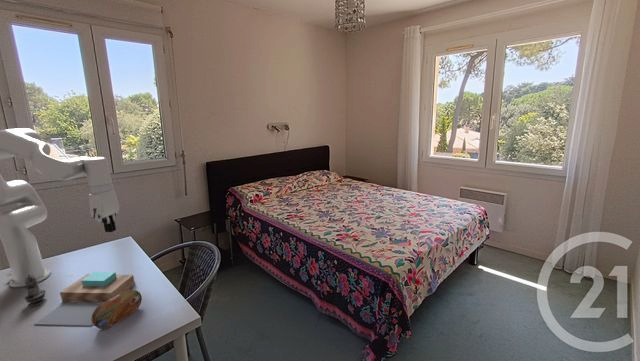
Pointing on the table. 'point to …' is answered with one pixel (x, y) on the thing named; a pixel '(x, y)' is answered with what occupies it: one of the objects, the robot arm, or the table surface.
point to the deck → (96, 290)
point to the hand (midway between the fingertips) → (110, 230)
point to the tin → (116, 309)
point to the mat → (70, 315)
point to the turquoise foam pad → (99, 279)
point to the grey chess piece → (34, 292)
